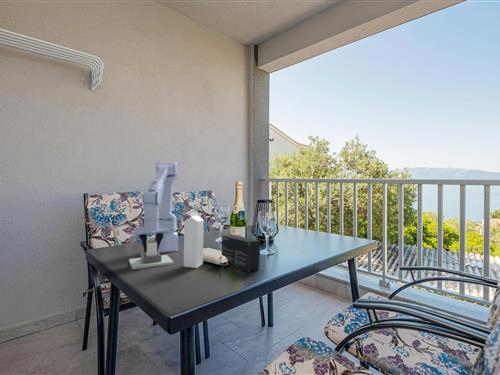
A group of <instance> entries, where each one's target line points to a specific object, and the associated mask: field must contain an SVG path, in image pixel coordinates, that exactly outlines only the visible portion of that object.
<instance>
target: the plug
mask: <svg viewBox="0 0 500 375" xmlns="http://www.w3.org/2000/svg"><path fill="white" fill-rule="evenodd" d="M146 247H147V253H145V252H144V253H145V256H146V257H149V256H157V242H156V240H147V243H146Z"/></svg>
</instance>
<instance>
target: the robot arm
mask: <svg viewBox="0 0 500 375" xmlns="http://www.w3.org/2000/svg"><path fill="white" fill-rule="evenodd" d="M155 172H156V176H155V179H152V180H151V182H150V184H149V187H148V189H147V190H146V191H145V192H143V193H142V197H141V201H142V207H143V209H144V210H143V211H144V212H143V213H144V215H143V216H144V217H143V219H144V220H143V221H144V223H143V227H144V228H143V229H139V230H132V237H136V236H138V237H139V239H140V241H141V244H142V246H143V248H142V249H143V253H147V247H146V243H147V241H148V237H147V236H149V235H150V236H151V235H155V241H156V242H157V252H159V253H160V254H162V253H170V252H178V251H179V235H178V234H179V233H178V232H177V229H178V228H177V227H178V221H177V216H176V215H175V214H174V213H172V208H173V196H174V182H175V181H176V180H177V179H178V176H179V175H178V174H179V164H178V162H176V161H159V160H158V161H157V162H156V164H155ZM160 205H161V211H160V212H159V210H160V208H159V207H160Z"/></svg>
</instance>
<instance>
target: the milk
mask: <svg viewBox="0 0 500 375" xmlns="http://www.w3.org/2000/svg"><path fill="white" fill-rule="evenodd" d="M204 221H205V220H204V219H203V218H202V217H201V216H199V215H198V211H195V212H191V214H190V217H189V218H187V219H185V220H184V223H183V226H184V227H183V267H185V268H193V269H198V268H199V267H201V266H202V265H203V264H204V223H205V222H204Z"/></svg>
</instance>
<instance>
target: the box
mask: <svg viewBox="0 0 500 375" xmlns="http://www.w3.org/2000/svg"><path fill="white" fill-rule="evenodd" d="M260 247H261V240H258V239H254V238H250V237H244V236H240V235H234V234H225V235H221V255H223V256H225V257H226V258H227V260H228V265H227V266H230V267H232V268H235V269H238V270H241V271H243V270H244V272H246V271H247V273H250V272H249V271H251V272H253V271H252V270H254V271H256V270H255V269H258V268H259V269H260V250H261V249H260ZM259 269H258V270H259Z"/></svg>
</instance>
